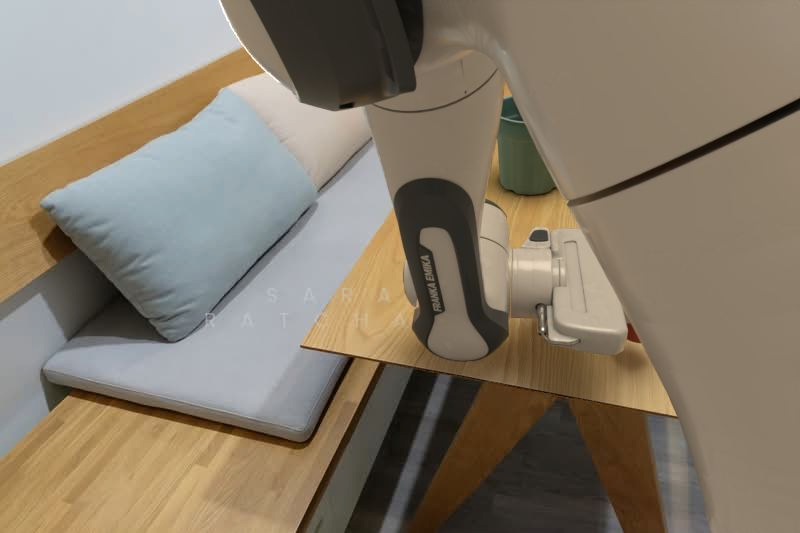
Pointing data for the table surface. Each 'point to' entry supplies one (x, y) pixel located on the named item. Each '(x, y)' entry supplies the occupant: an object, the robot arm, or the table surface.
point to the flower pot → (520, 155)
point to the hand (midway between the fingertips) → (655, 287)
